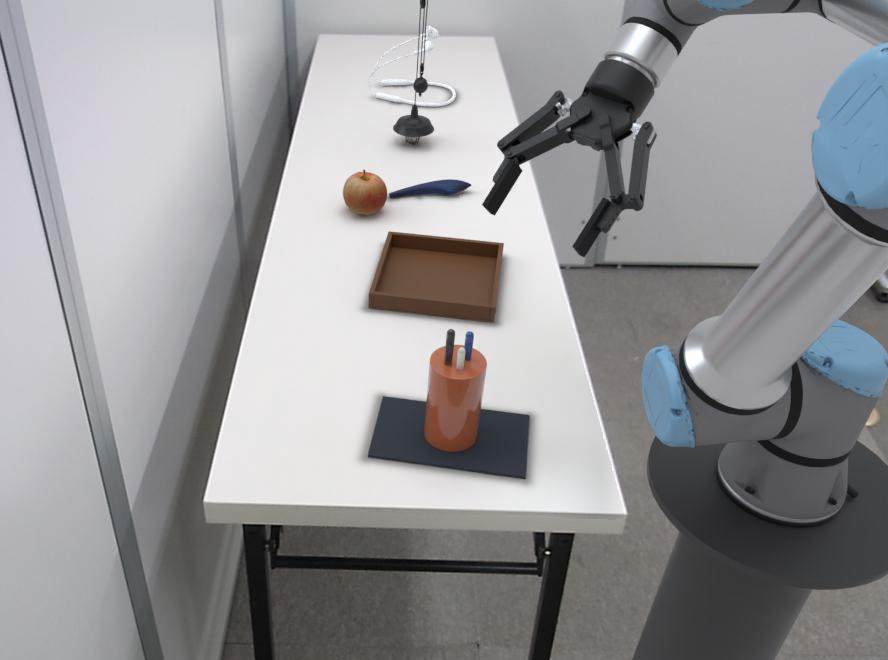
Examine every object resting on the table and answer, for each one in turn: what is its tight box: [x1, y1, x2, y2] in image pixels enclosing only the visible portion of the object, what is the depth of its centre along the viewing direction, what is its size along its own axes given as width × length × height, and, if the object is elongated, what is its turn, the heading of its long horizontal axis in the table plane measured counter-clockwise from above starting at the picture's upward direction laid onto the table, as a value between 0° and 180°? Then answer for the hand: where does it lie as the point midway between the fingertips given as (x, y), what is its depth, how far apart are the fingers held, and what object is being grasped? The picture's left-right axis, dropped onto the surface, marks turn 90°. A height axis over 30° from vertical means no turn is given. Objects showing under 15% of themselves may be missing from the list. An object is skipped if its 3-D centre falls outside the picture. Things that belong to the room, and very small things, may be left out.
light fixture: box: [392, 0, 435, 146], centre depth 176 cm, size 10×8×31 cm
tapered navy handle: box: [388, 178, 472, 199], centre depth 169 cm, size 16×4×2 cm, turn 99°
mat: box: [367, 395, 530, 480], centre depth 118 cm, size 20×12×1 cm, turn 79°
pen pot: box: [424, 328, 488, 452], centre depth 112 cm, size 7×7×17 cm
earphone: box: [367, 25, 457, 107], centre depth 205 cm, size 14×17×18 cm
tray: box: [367, 231, 505, 323], centre depth 146 cm, size 20×20×3 cm
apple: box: [342, 169, 388, 216], centre depth 162 cm, size 8×8×8 cm
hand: (531, 230), depth 108 cm, fingers open, 13 cm apart
